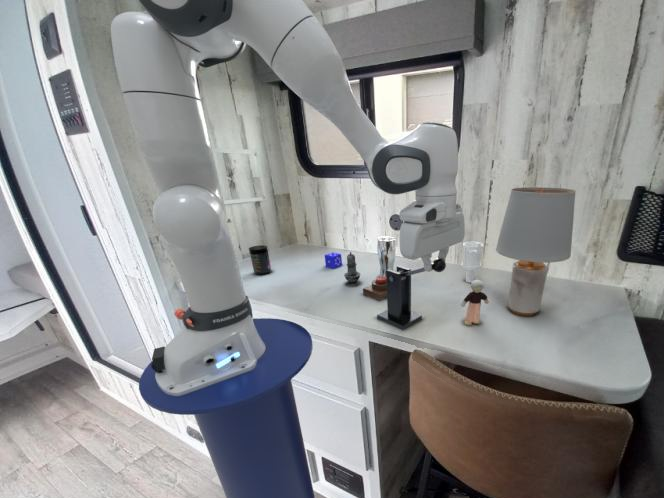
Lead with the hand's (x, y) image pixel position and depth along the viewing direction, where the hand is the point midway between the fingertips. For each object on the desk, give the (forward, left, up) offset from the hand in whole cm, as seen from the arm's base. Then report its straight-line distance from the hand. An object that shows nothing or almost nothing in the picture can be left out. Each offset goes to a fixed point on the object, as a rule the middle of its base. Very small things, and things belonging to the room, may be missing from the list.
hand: (434, 268), depth 73 cm
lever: (0, +4, -3) cm, 6 cm away
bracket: (0, +12, -18) cm, 21 cm away
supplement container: (-7, +80, -18) cm, 82 cm away
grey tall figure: (+9, +43, -18) cm, 47 cm away
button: (+10, +29, -14) cm, 34 cm away
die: (+17, +65, -18) cm, 69 cm away
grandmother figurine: (+12, -5, -18) cm, 22 cm away
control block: (+10, +29, -18) cm, 35 cm away
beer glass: (+22, +38, -18) cm, 47 cm away
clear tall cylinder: (+39, +12, -18) cm, 44 cm away
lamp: (+28, -12, -18) cm, 36 cm away
